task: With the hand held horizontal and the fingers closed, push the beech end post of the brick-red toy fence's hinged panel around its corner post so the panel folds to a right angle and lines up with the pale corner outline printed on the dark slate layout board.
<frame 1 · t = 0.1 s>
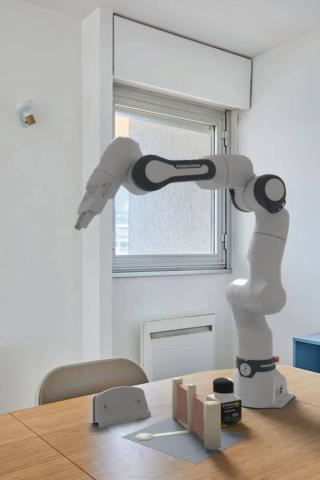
hand: (79, 228, 134), 54 cm above the table, tool tilted 30°, fingers open, 8 cm apart
swing panel: (205, 418, 117), point 6 cm above the table, hinge at 0.0°
layout board: (185, 437, 122), on the table
fixed fence: (191, 431, 125), resting on layout board
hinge: (120, 420, 136), on the table
medicine bottle: (224, 423, 133), on the table
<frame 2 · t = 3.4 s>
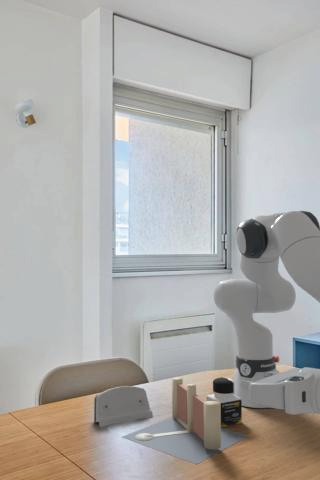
hand: (254, 379, 108), 18 cm above the table, tool horizontal, fingers open, 8 cm apart
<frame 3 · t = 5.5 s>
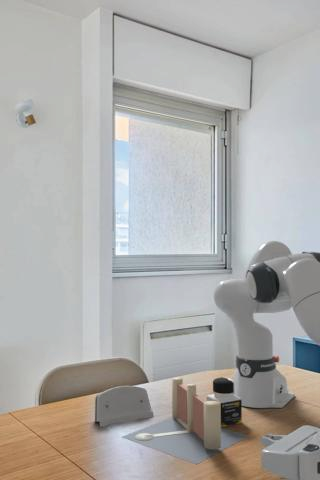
hand: (264, 439, 104), 7 cm above the table, tool horizontal, fingers closed
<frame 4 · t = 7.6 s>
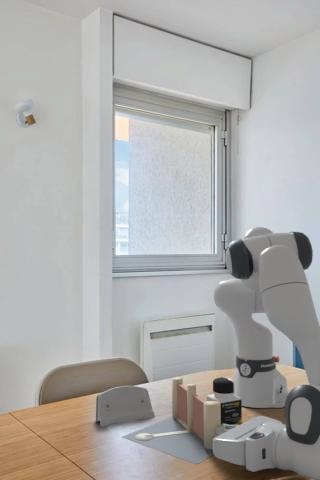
hand: (219, 428, 112), 6 cm above the table, tool horizontal, fingers closed, pressing on swing panel
swing panel: (205, 418, 117), point 6 cm above the table, hinge at -0.1°, touching gripper
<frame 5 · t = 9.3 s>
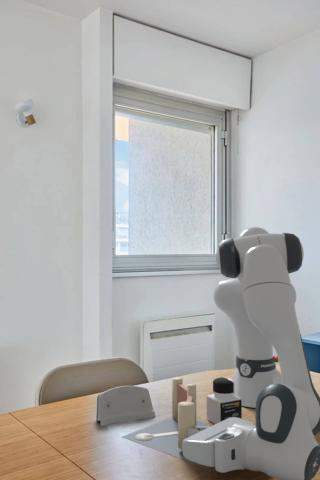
hand: (191, 430, 111), 6 cm above the table, tool horizontal, fingers closed, pressing on swing panel
swing panel: (188, 419, 117), point 6 cm above the table, hinge at -27.5°, touching gripper
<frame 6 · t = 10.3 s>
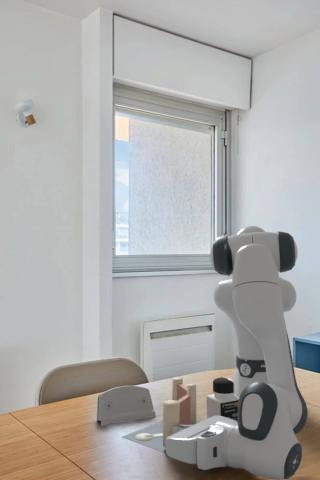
hand: (175, 428, 112), 6 cm above the table, tool horizontal, fingers closed, pressing on swing panel
swing panel: (178, 418, 118), point 6 cm above the table, hinge at -44.3°, touching gripper
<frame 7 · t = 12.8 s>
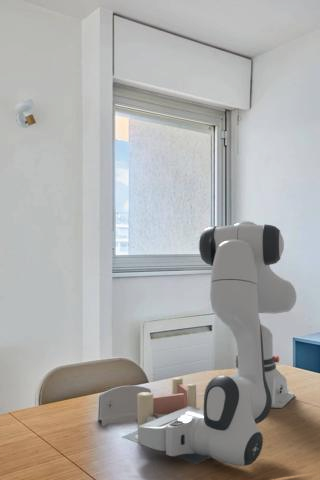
hand: (150, 418, 119), 6 cm above the table, tool horizontal, fingers closed, pressing on swing panel
swing panel: (161, 412, 122), point 6 cm above the table, hinge at -86.2°, touching gripper
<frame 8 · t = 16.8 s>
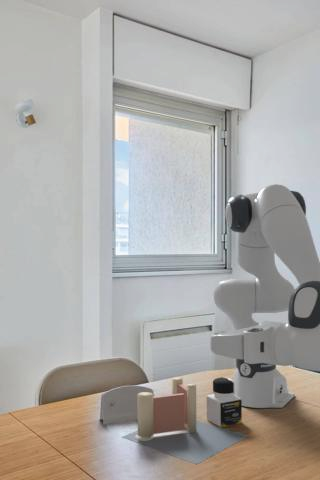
hand: (217, 335, 111), 28 cm above the table, tool horizontal, fingers closed
swing panel: (161, 412, 122), point 6 cm above the table, hinge at -86.3°
at the end: swing panel at -86° (first picture: +0°) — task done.
